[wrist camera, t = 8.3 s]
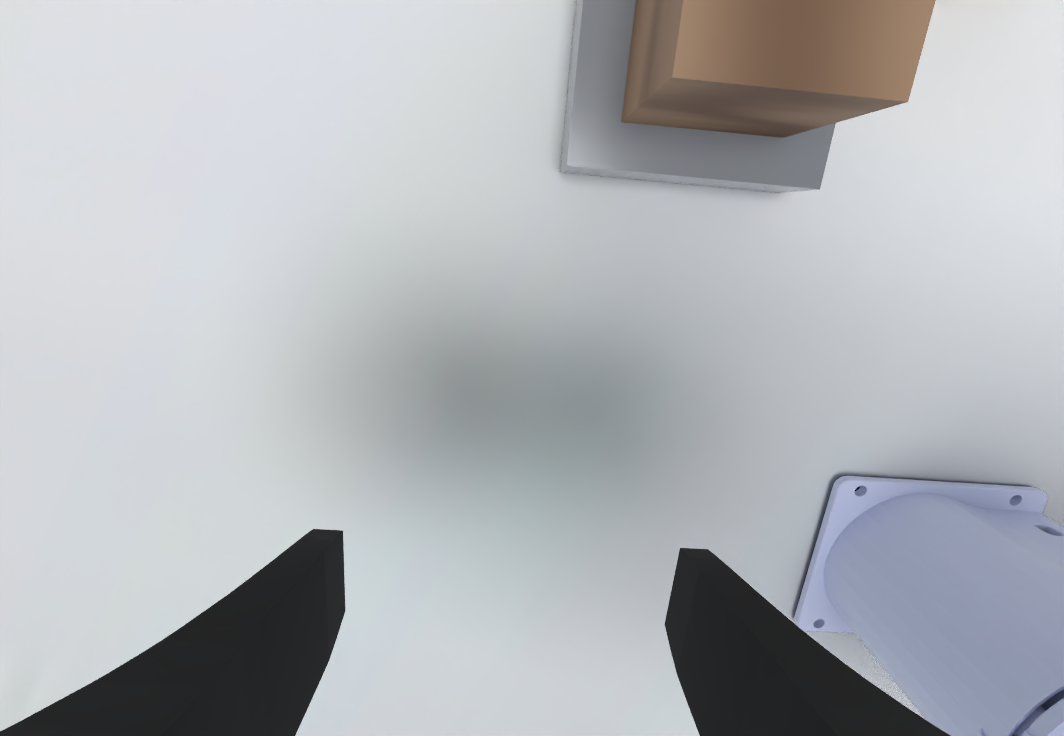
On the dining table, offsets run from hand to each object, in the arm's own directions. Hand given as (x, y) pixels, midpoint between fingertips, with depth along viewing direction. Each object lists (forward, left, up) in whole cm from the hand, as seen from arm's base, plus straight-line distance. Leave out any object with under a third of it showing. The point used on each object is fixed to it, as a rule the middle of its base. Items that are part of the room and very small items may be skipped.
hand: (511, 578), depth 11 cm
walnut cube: (-5, -13, -7) cm, 16 cm away
